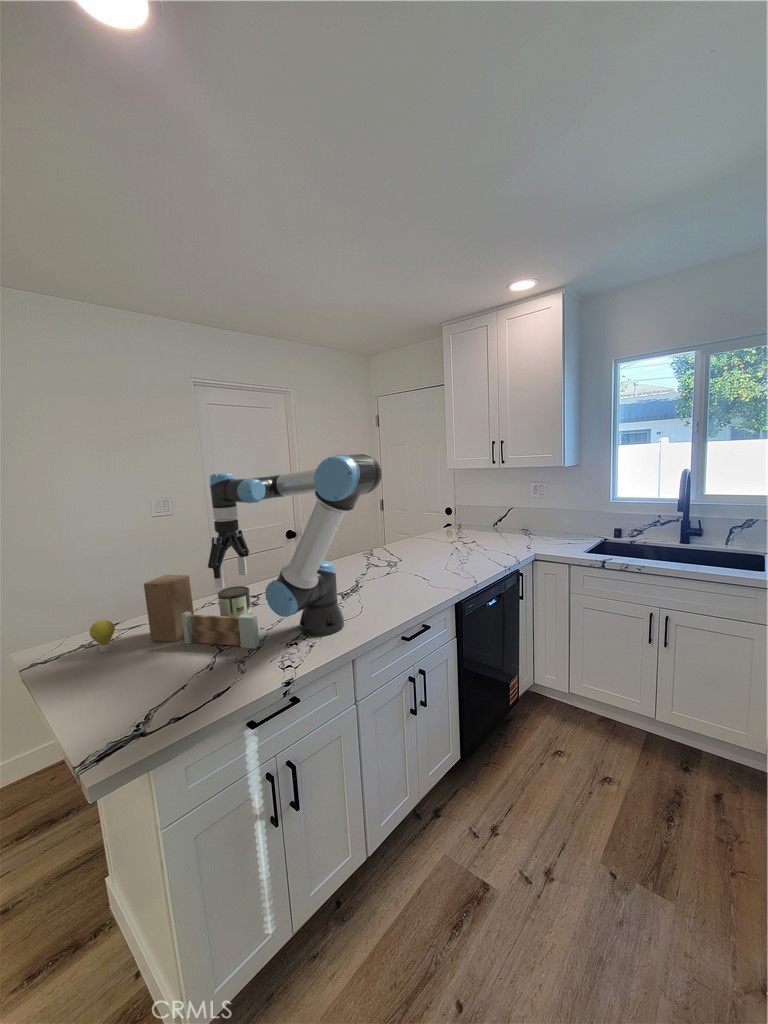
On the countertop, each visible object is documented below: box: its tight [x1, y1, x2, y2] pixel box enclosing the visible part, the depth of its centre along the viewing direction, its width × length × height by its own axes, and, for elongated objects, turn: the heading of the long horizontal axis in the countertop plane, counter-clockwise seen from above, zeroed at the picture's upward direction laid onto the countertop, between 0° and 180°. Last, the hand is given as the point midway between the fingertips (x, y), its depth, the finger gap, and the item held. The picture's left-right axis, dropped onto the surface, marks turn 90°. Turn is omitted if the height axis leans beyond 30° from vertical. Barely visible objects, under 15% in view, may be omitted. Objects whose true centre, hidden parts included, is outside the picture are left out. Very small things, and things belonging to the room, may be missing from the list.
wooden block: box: [143, 574, 195, 643], centre depth 142 cm, size 10×10×20 cm
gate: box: [189, 614, 241, 647], centre depth 135 cm, size 18×1×9 cm, turn 77°
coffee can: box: [217, 585, 252, 617], centre depth 145 cm, size 10×10×14 cm
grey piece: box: [181, 612, 260, 649], centre depth 134 cm, size 26×3×10 cm, turn 77°
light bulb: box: [89, 619, 116, 653], centre depth 134 cm, size 7×7×10 cm
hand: (232, 580), depth 143 cm, fingers open, 13 cm apart
